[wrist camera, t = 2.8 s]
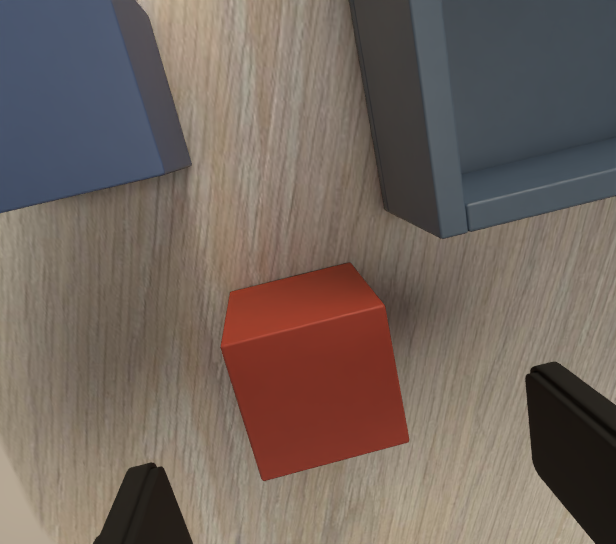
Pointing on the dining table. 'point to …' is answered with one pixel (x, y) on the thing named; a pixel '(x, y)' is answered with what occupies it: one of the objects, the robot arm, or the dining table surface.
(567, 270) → the dining table surface
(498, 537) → the dining table surface
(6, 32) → the blue block
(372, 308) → the red block
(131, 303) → the dining table surface
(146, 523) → the robot arm
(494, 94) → the slate bin
